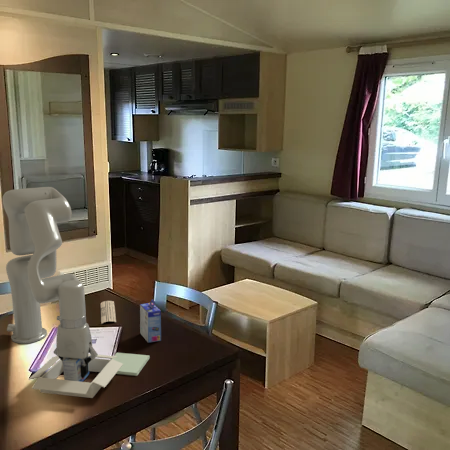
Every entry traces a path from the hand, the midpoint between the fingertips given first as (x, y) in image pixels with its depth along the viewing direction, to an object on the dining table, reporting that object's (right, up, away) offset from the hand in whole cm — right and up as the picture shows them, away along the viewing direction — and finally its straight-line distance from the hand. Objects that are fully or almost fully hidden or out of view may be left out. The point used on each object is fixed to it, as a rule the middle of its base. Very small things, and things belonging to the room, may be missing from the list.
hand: (76, 374), depth 150 cm
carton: (0, -3, 0) cm, 3 cm away
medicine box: (0, -2, +1) cm, 2 cm away
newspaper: (-4, +8, +55) cm, 56 cm away
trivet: (+13, 0, +11) cm, 17 cm away
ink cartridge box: (+18, +4, +32) cm, 37 cm away
